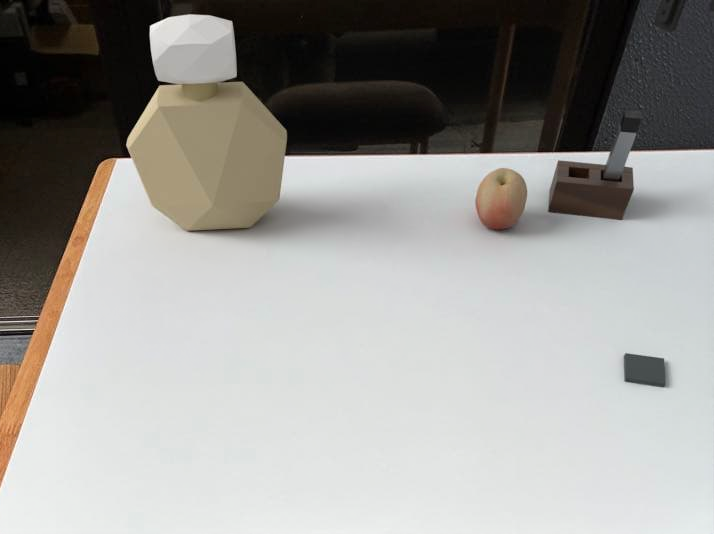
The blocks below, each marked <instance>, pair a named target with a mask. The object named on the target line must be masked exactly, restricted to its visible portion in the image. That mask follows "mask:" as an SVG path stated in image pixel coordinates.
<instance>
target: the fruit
mask: <svg viewBox="0 0 714 534" xmlns="http://www.w3.org/2000/svg"><path fill="white" fill-rule="evenodd" d="M527 198H528V187H527V182H526V180H525V178H524V177H523V176H522V174H520V173H519V172H518V171H516V170H514V169H511V168H509V167H499V168H496V169H494V170H492V171H490V172H489V173H488V174H487V175H485V177H484V178H483V179H482V180H481V182H480V183H479V185H478V187H477V191H476V196H475V200H474V201H475V202H474V203H475V210H476V213H477V216H478V218H479V220H480V222H481V223H482V225H483V226H485V227H486V228H488V229H490V230H504V229H507V228H510V227H512V226H513V225H515V224H516V223H517V222H518V221H519V219H520V218H521V217H522V215H523V213H524V211H525V209H526V203H527Z"/></svg>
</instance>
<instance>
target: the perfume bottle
mask: <svg viewBox="0 0 714 534" xmlns="http://www.w3.org/2000/svg"><path fill="white" fill-rule="evenodd" d="M234 30H235V29H234V25H233V21H232V20H228V19H225V18H221V17H218V16H213V15H209V14H190V13H189V14H183V15H176V16H169V17H166V18H164V19H161V20H160V21H157V22H155V23H153V24H151V25H149V44H150V53H151V59H152V65H153V70H154V74H155V77H156V79H157V81H158V82H164V83H170V84H163V85H158V88H157V89H156V91H155V92H154V94H153V96H152V97H151V99H150V101H149V102H148V104H147V105H146V107H145V109H144V111H142V114H141V115H140V117H139V119H138V120H137V122H136V124H135V125H134V127H133V128H132V130H131V132H130V133H129V135H128V137H127V139H126V144H125V146H126V148H127V150H128V153H129V155H130V158H131V161H132V163H133V165H134V168H135V169H136V172H137V174H138V175H137V176H138V177H139V179H140V182H141V184H142V187H143V190H144V192H145V193H146V196H147V198H148V200H149V203H150V205H151V207H153V208H154V209H155V210H157V211H158V212H160V214H162V215H164V216H165V217H166V218H168V219H169V220H171V222H173V223H175V224H176V225H177V226H179V227H180V228H181V229H183V230H184V231H206V230H207V231H208V230H226V229H227V230H229V229H249V228H253V226H254V225H255V224H256V223H258V221H259V220H260V219H261V218H262V217H263V216H264V215H265V214H267V213H268V211H270V210H271V208H273V207H274V206H275V205H276V204H277V202H278V201H280V199H281V190H282V183H283V174H284V166H285V159H286V149H287V141H288V131H287V129H286V128H285V127H284V126H283V125H282V123H280V121H279V120H277V119H278V118H276V117H275V115H273V113H272V112H271V111H270V110H269V109H268V108H267V107H266V106H265V105H264V104H263V103H262V101H261V100H260V99H259V98H258V97H257V96H256V95H255V93H253V90H251V89H250V88H249V87H248V85H246V84H245V82H243V81H229V80H232V79H234V78H237V75H238V74H237V73H238V67H237V52H236V39H235V31H234ZM226 81H228V82H226Z"/></svg>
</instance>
